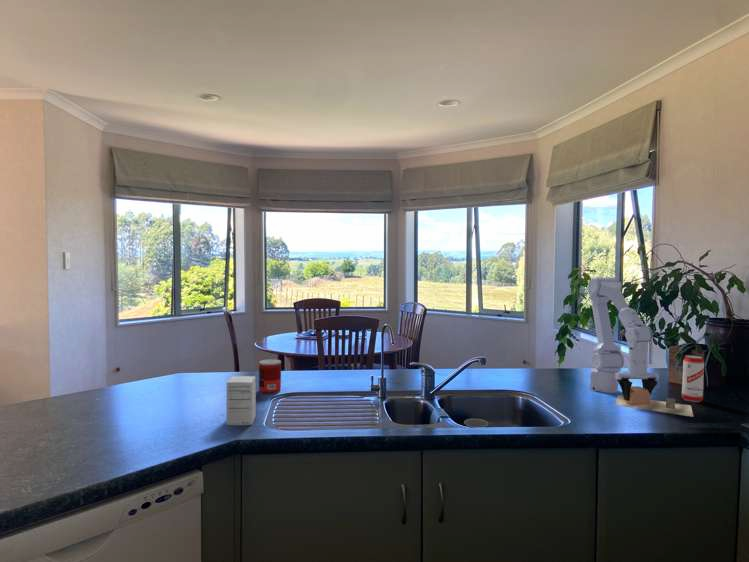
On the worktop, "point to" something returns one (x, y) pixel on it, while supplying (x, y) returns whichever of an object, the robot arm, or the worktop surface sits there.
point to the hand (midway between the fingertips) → (636, 400)
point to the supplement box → (241, 400)
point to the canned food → (269, 376)
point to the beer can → (693, 378)
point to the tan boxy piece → (638, 396)
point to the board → (660, 406)
